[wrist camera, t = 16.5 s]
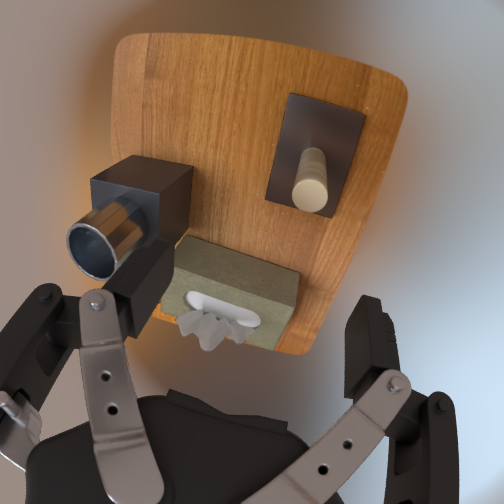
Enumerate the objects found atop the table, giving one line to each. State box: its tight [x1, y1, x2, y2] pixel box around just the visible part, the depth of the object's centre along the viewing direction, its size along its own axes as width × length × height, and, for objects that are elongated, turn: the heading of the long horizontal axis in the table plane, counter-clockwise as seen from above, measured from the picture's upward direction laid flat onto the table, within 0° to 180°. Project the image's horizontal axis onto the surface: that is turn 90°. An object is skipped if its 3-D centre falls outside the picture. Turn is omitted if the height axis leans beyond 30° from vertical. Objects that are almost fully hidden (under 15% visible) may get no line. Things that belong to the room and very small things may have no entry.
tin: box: [66, 196, 149, 281], centre depth 32 cm, size 7×7×7 cm
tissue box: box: [161, 235, 300, 351], centre depth 42 cm, size 19×10×16 cm, turn 75°
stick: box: [292, 147, 328, 212], centre depth 30 cm, size 3×3×12 cm
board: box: [265, 93, 365, 219], centre depth 35 cm, size 14×9×2 cm, turn 169°
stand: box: [90, 155, 193, 247], centre depth 39 cm, size 10×10×10 cm
